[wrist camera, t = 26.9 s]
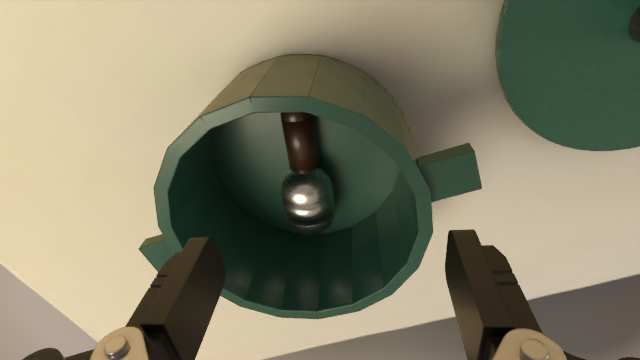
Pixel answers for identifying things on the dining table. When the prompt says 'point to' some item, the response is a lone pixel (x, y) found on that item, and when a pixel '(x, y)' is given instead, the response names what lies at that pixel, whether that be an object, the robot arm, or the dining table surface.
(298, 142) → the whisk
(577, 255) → the dining table surface
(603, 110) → the lid
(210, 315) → the robot arm
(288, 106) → the pot
